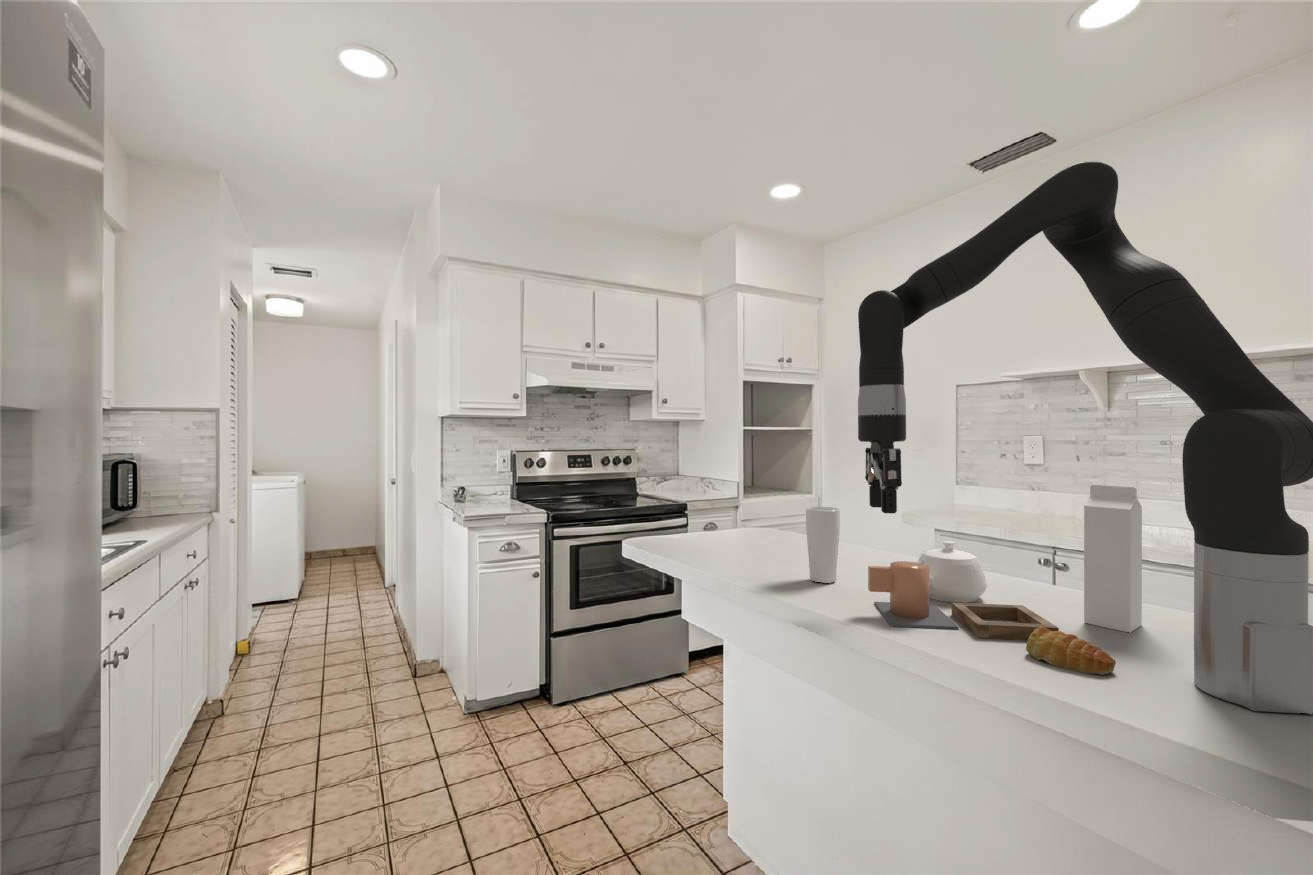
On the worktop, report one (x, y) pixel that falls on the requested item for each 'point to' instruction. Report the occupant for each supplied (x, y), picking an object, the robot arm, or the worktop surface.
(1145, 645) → the worktop surface
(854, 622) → the worktop surface
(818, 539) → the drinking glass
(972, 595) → the teapot
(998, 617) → the wooden tray
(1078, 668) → the pastry
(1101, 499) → the milk
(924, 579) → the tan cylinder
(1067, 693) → the worktop surface
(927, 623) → the mat
